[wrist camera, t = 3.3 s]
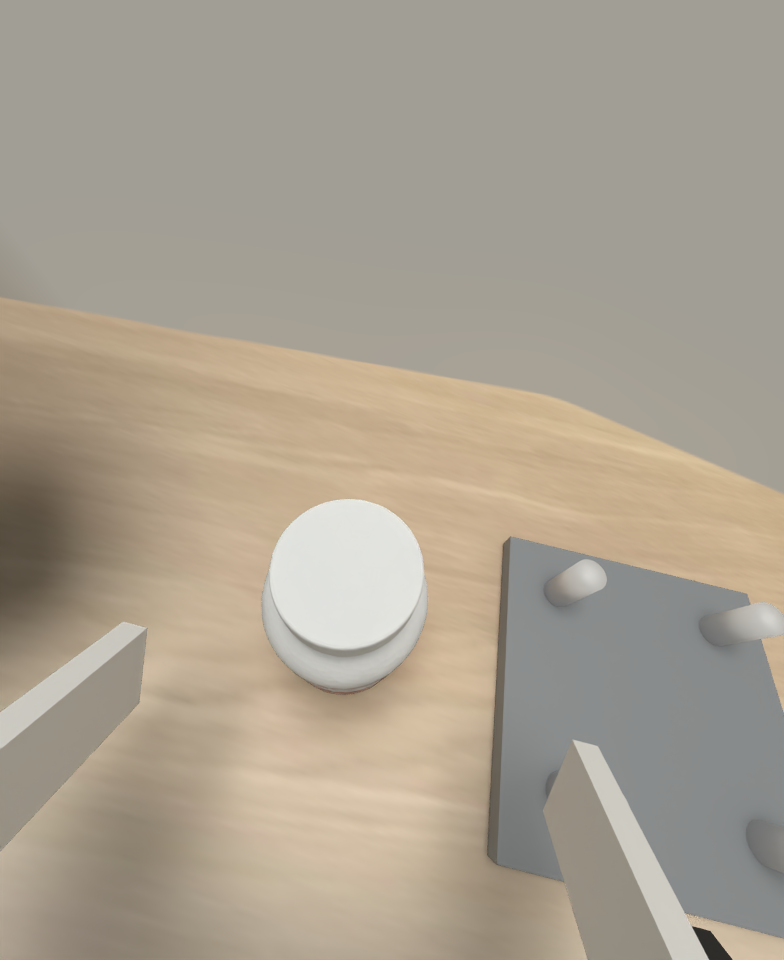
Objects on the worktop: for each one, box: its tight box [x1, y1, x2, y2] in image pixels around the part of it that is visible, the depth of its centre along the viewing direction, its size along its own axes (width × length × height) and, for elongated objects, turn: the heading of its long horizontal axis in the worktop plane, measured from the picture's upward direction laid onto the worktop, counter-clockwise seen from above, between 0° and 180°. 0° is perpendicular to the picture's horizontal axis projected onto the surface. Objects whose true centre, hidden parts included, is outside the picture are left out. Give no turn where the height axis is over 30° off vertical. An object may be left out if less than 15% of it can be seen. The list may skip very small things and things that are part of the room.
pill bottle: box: [261, 499, 428, 695], centre depth 16 cm, size 6×6×11 cm
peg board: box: [487, 537, 784, 938], centre depth 18 cm, size 15×15×5 cm
